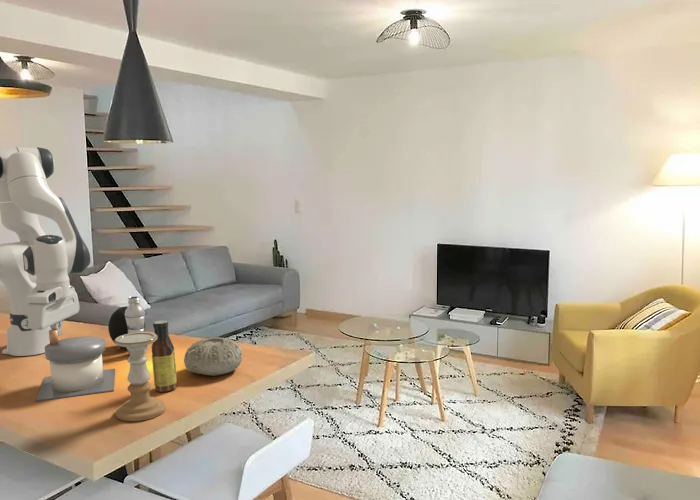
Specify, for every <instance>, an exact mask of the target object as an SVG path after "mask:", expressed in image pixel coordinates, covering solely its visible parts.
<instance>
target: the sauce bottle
mask: <svg viewBox="0 0 700 500" xmlns="http://www.w3.org/2000/svg"><path fill="white" fill-rule="evenodd" d="M152 327H153V329H154V332H153V333H155V334H156V335H157V336H158V338H157V340H156V341H155V342H153V343H151V360H152V361H151V362H152V372H153V373H152V374H153V382H154V383H153V385H154V389H155V391H156V392H159V393H167V392H171V391H174V390H175V389H176V388H177V385H178V384H177V382H178V380H177V367H176V354H175V347H174V345H173V342H172V339H171V338H170V336H169V321H167V320H163V319H162V320H156V321H154V322H153V323H152Z"/></svg>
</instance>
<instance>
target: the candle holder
mask: <svg viewBox="0 0 700 500" xmlns="http://www.w3.org/2000/svg"><path fill="white" fill-rule="evenodd" d="M157 338H158V336H157V335H156V334H155V332H149V331H145V332H137V333H129V334H125V335H122V336H119V337H117V338H116V339H115V343H114V344H115V345H116V346H118V347H119V346H121V347H120V348H122V347H126V348H125V349H126V350H127V349H128V350H129V351H130V354H129V357H128V358H127V363H129V371H128V374H127V382H129V383H130V384H129V385H128V386H127V388H126V389H127V391H128V392H129V393H130V398H129V399H128V400H126V401H124V403H122V404H121V405H119V406H118V407H117V408H116V410H115V416H116V418H117V419H118V420H120V421H123V422H142V421H148V420H151V419H154V418H156V417H158V416H161V415H162V414H163V413H164V412H165V410H166V403H165V402H164V401H163V400H161V399H158V398H156V397H154V396H150V390H151V388H152V384H151V383H150V382H149V381H150V379H151V375H150V372H149V369H148V367H147V361H148V360H149V357H148V356H147V354H146V353H145V354H144V350H145V348H146V347H147V346H148V345H152V344H153V342H155V341H156V340H157ZM147 348H148V347H147ZM128 350H127V351H128Z"/></svg>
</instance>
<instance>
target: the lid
mask: <svg viewBox="0 0 700 500" xmlns="http://www.w3.org/2000/svg"><path fill="white" fill-rule="evenodd" d="M58 338H59V336H58V330H49V341H50V344H48V345H46V346H45V353H44V354H45V355H44V357H45V359H46V360H48V362H50V361H54V362H70V361H78V360H84V359H88V358H92V357H95V356H98V355H100V354H102V355H103V353H105V351H106V344H105V343H106V341H105V339H104V338H103V337H99V336H94V335H93V336H91V335H90V336H89V335H88V336H75V337H74V336H73V337H68V338H64V339H58Z"/></svg>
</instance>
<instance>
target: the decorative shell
mask: <svg viewBox="0 0 700 500" xmlns="http://www.w3.org/2000/svg"><path fill="white" fill-rule="evenodd" d="M242 361H243V353H242V349H241V346H240V344H239V343H237V342H235V340H234V339H229V338H224V337H220V336H219V337H218V336H217V337H215V336H213V337H211V338H206V339H201V340H198V341H196V342H194V343H192V345H191V346H189V347H188V348H187V350H186V351H185V353H184V359H183V363H184V366H185V368H186V370H187V371H189V372H190V373H194V374H198V375H200V374H201V375H204V376H212V377H213V376H215V377H216V376H222V375H225V374H228V373H231V372H233V371H236V370H237V368H238V367H239V366H240V365H241V363H242Z"/></svg>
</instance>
